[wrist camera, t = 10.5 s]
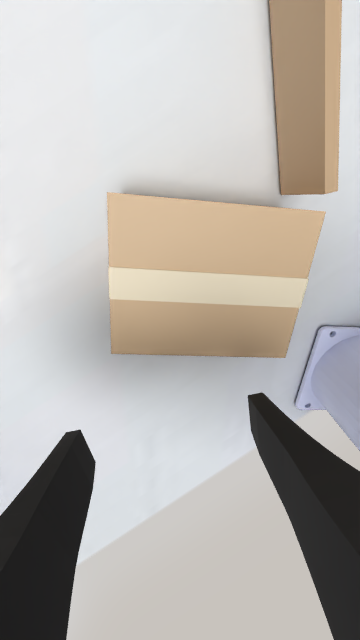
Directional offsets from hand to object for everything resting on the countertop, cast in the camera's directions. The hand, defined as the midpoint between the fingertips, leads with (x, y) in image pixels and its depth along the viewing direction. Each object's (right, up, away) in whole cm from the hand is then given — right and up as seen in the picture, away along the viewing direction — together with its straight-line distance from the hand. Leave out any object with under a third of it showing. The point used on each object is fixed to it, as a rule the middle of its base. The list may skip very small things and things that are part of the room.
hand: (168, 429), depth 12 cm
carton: (+2, +8, +7) cm, 11 cm away
